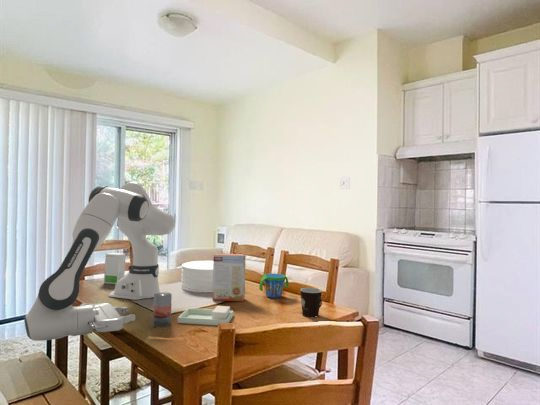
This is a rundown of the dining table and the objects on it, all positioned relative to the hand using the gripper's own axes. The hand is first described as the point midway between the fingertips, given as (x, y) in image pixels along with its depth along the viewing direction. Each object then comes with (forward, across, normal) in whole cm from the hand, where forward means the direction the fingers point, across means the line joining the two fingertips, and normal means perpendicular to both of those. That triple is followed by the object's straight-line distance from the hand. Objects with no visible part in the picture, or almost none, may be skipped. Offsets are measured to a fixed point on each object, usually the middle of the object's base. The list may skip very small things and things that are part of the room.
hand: (131, 313), depth 124 cm
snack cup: (+70, +14, +6) cm, 71 cm away
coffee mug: (+65, -18, +6) cm, 68 cm away
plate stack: (+51, +48, +7) cm, 71 cm away
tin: (+11, 0, +6) cm, 12 cm away
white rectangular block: (+31, -6, +5) cm, 32 cm away
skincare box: (+11, +78, +6) cm, 79 cm away
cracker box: (+48, +20, +6) cm, 52 cm away
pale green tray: (+26, -3, +6) cm, 27 cm away
